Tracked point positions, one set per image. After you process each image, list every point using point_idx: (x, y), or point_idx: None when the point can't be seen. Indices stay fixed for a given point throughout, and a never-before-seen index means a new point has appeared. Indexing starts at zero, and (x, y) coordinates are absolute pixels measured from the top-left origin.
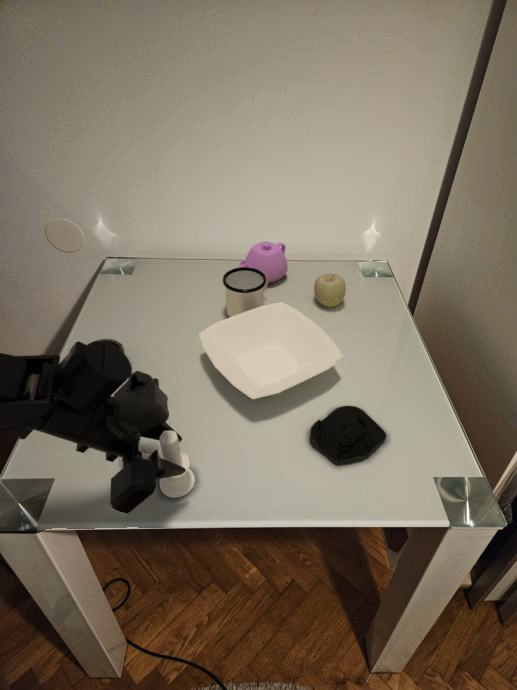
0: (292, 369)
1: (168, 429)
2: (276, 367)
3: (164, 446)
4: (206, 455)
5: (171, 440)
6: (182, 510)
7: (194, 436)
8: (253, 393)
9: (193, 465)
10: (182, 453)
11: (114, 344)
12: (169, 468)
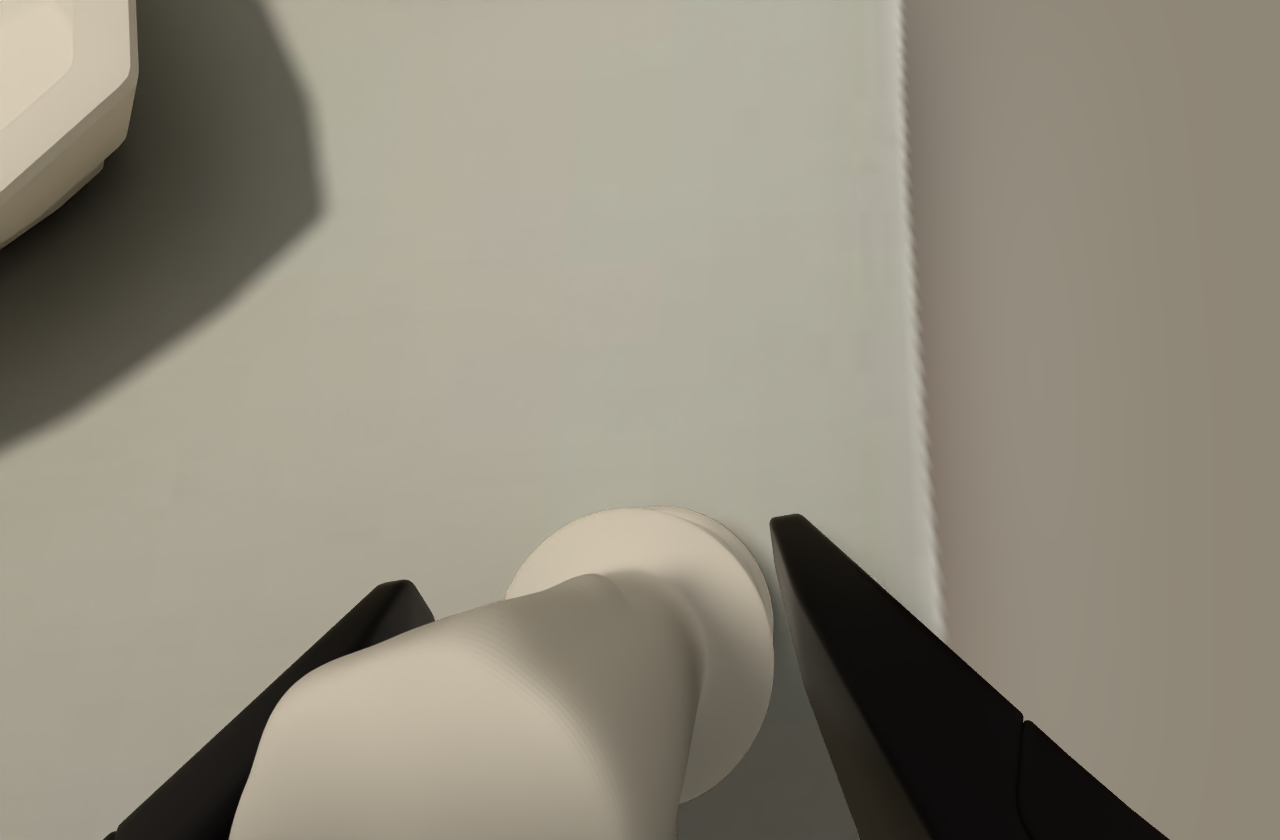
0: (46, 32)
1: (234, 793)
2: (12, 104)
3: None
4: (494, 448)
5: (525, 785)
6: None
7: (358, 527)
8: (85, 68)
9: (554, 521)
10: (526, 578)
11: None
12: (1056, 745)
